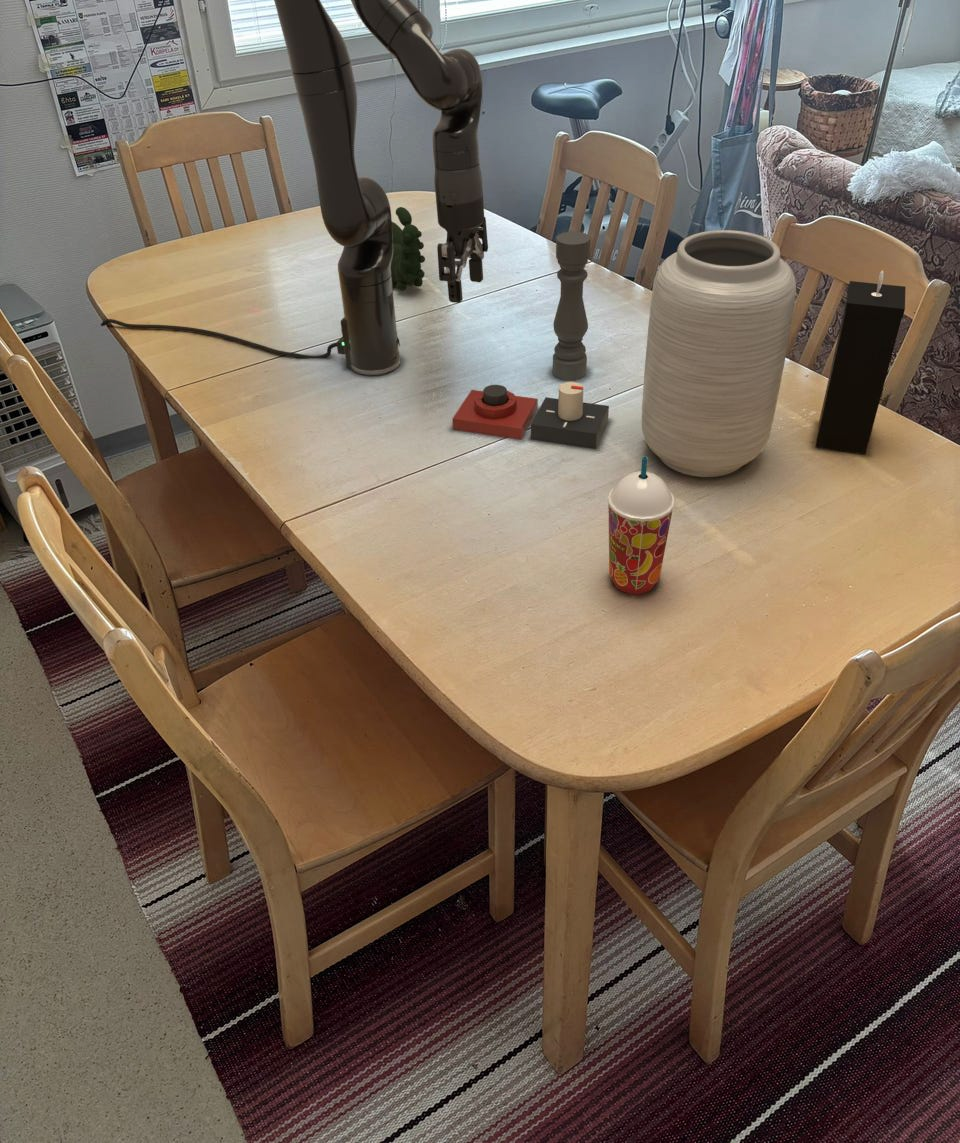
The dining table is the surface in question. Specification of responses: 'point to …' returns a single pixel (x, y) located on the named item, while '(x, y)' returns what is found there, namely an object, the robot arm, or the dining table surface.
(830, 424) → the black pillar candle
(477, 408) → the button housing
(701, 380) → the vase
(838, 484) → the dining table surface
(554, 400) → the control panel
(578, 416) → the knob
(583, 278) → the candle holder
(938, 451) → the dining table surface
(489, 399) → the button
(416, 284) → the dark green lumpy figure
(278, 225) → the dining table surface
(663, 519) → the smoothie
